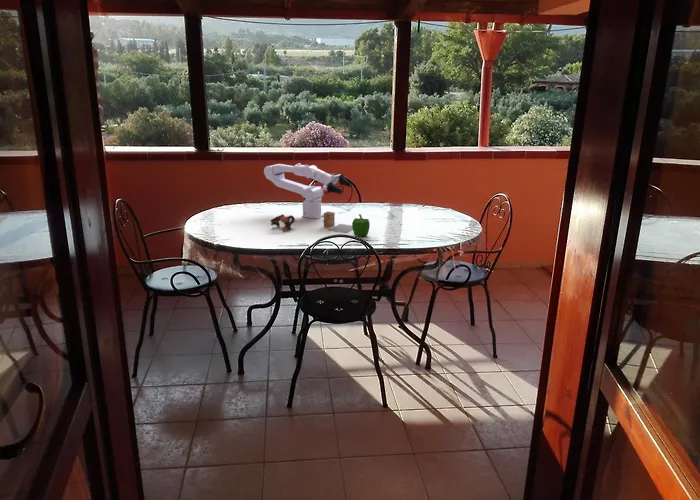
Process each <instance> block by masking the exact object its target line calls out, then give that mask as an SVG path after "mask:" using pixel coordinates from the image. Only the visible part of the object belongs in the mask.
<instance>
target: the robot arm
mask: <svg viewBox="0 0 700 500" xmlns="http://www.w3.org/2000/svg"><path fill="white" fill-rule="evenodd" d="M285 173H293V174H294V175H295V176H300V177H305V178H306V179H310V178H311V179H313V180H315V181H317V182H319V183H321V184H323V185H322V187H321V186H320V185H317V186H315V185H305V184H303V183H299V182H297V181H293V180H290V179H286V177H285ZM263 174H264V176H265V178H266V179H267V180H269V181H270V182H271V183H273V185H275V186H276V187H278V188H281V189H284V190H287V191H289V192H292V193H293V192H294V193H295V194H299V195H301V197H302V198H304V200H303V202H302V216H301V217H303V218H310V219H316V220H318V219H320V218H322V217H324V213H323V214H322V197H323V196H324V194H325V193H324V191H327V193H329V194H330V193H336V194H343V189H342V188H340V187H339V186H341V185H342V186H345V187H348V188H351V186H352V183H351V181H349V180H348V179H347V178H346V177H345V175H344V174H342V173H339V174H330V173H327V172H326V171H324V170H321V169H319V168H318V167H317V166H316V165H314V164H312V165H309V164H301V162H299V163H296V164H295V165H289V164H283V163H275V164H273V165H267V166H265V167H264V169H263ZM338 182H339V186H337V185H336V183H338Z"/></svg>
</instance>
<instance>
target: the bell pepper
mask: <svg viewBox="0 0 700 500" xmlns="http://www.w3.org/2000/svg"><path fill="white" fill-rule="evenodd" d="M358 216H359V218H357V217H355V218H354V219H353V221H352V222H351V225H352V228H353V230H352V231H353V234H354V236H355V237H367V236H368V234H369V230H370V226H371V225H370V220H369V219H368V218H363V216H362V214H361V213H359V214H358Z"/></svg>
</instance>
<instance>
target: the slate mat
mask: <svg viewBox="0 0 700 500" xmlns="http://www.w3.org/2000/svg"><path fill="white" fill-rule="evenodd" d="M328 231H333V232H336V233H337V232H338V233H344V234H347V233H349V232H350V231H353V228H352V224H345V223H339V224H337V225H335V226H333V227H331V228H329V229H328Z"/></svg>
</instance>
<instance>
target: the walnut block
mask: <svg viewBox="0 0 700 500" xmlns="http://www.w3.org/2000/svg"><path fill="white" fill-rule="evenodd" d="M323 214H324V216H323V227H324V228H329V229H331V228H333V227H335V226H336V224H335V219H336V218H335V217H336V216H335V215H336V214H335V212H334V211H325V212H323Z"/></svg>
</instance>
